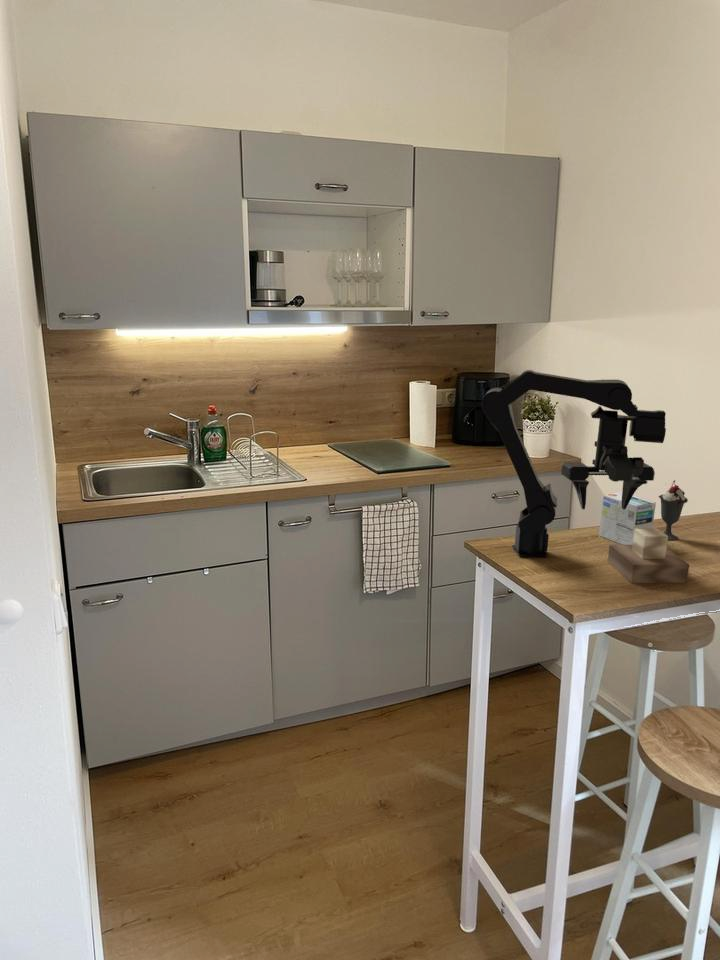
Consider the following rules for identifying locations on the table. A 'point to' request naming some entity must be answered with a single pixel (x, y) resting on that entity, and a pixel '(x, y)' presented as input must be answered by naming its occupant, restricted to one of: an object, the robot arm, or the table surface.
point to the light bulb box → (624, 517)
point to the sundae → (672, 508)
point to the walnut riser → (647, 566)
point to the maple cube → (649, 543)
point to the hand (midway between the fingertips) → (603, 508)
